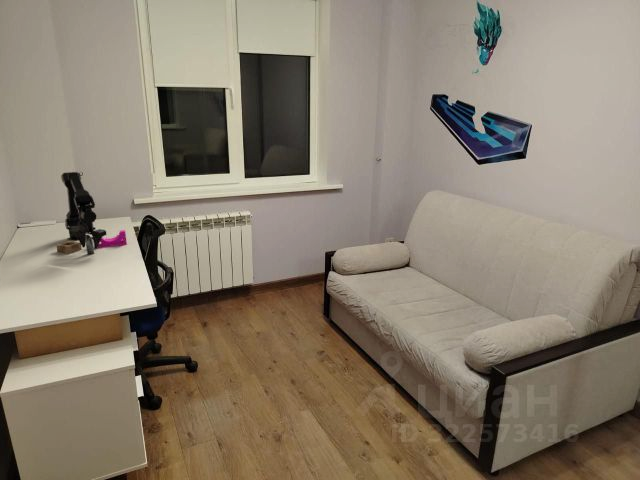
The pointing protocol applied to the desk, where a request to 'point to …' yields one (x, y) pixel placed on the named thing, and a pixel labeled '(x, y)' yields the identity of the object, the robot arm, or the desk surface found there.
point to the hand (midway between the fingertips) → (90, 248)
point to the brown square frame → (69, 247)
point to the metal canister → (89, 244)
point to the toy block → (114, 240)
